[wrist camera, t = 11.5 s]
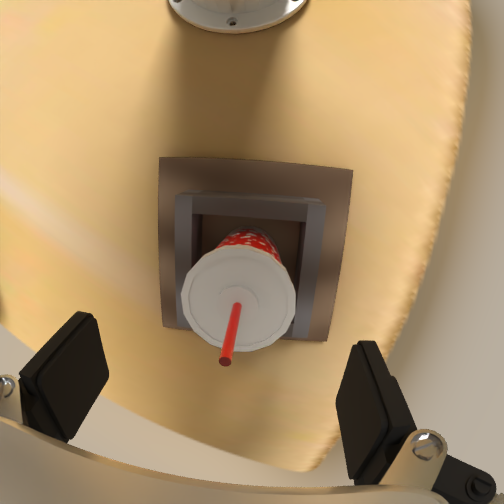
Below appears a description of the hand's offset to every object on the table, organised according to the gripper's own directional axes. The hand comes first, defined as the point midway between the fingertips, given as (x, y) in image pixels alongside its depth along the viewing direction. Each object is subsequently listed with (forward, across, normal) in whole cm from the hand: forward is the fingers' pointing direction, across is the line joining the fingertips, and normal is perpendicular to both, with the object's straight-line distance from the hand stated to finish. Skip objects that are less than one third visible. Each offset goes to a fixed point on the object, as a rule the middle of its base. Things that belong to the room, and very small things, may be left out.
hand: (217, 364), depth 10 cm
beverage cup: (+15, 0, +1) cm, 15 cm away
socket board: (+16, 0, +2) cm, 16 cm away
